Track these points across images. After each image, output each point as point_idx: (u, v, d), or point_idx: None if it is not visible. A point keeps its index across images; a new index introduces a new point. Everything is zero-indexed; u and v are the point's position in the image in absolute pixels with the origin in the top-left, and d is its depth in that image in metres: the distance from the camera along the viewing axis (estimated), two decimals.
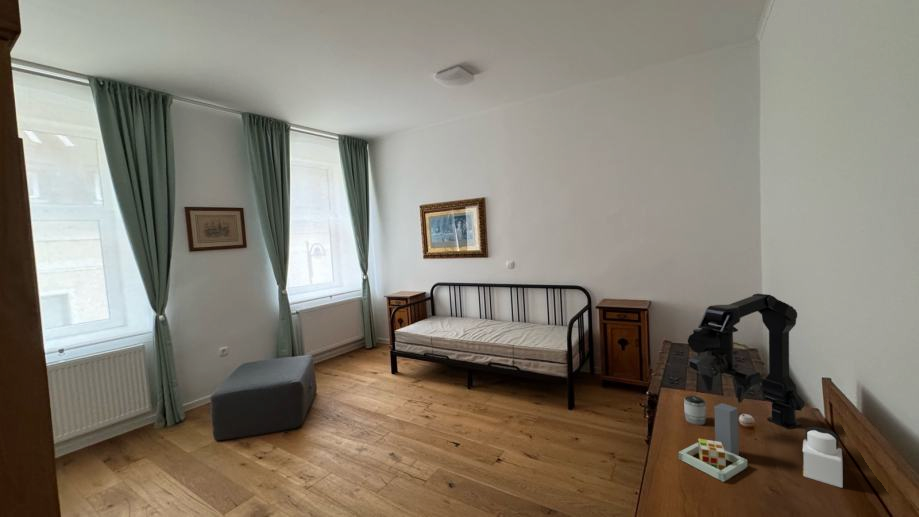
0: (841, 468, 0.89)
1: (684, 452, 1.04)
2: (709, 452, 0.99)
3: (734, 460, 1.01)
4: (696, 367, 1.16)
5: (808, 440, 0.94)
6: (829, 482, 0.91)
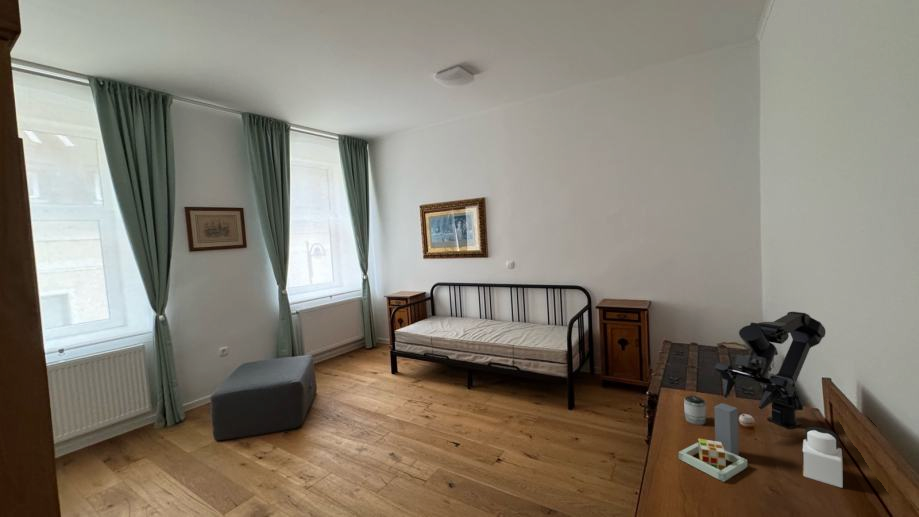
0: (841, 468, 0.89)
1: (684, 452, 1.04)
2: (709, 452, 0.99)
3: (734, 460, 1.01)
4: (724, 368, 1.15)
5: (808, 440, 0.94)
6: (829, 482, 0.91)
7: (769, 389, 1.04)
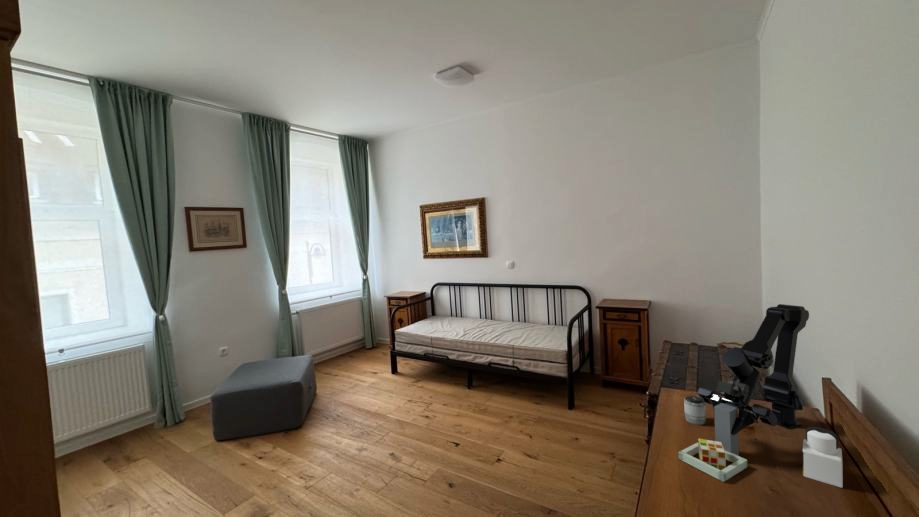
0: (841, 468, 0.89)
1: (684, 452, 1.04)
2: (709, 452, 0.99)
3: (734, 460, 1.01)
4: (706, 394, 1.11)
5: (808, 440, 0.94)
6: (829, 482, 0.91)
7: (741, 415, 1.02)
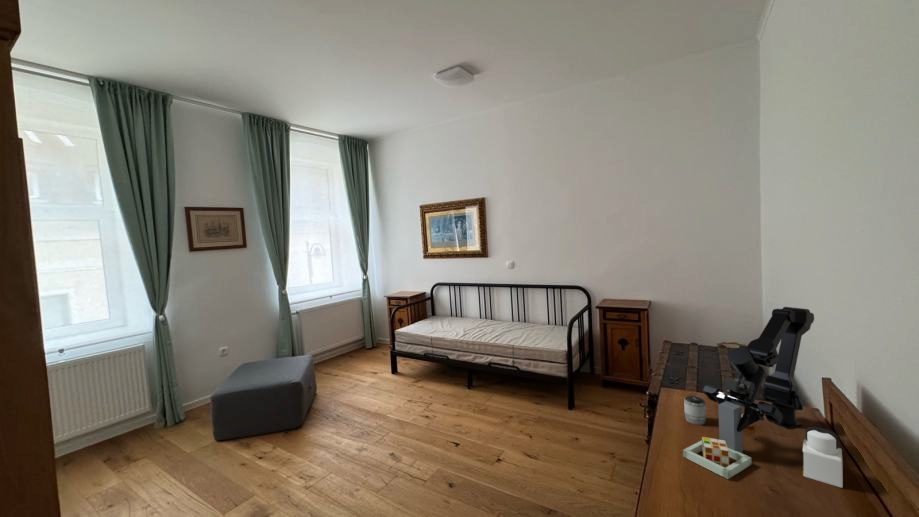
0: (841, 468, 0.89)
1: (688, 450, 1.05)
2: (712, 450, 1.00)
3: (738, 458, 1.01)
4: (712, 391, 1.12)
5: (808, 440, 0.94)
6: (829, 482, 0.91)
7: (747, 412, 1.03)
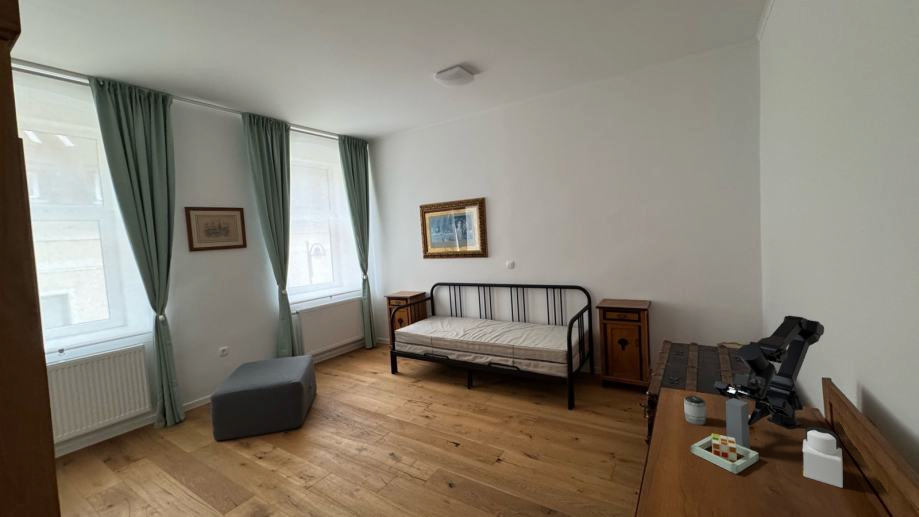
0: (841, 468, 0.89)
1: (696, 446, 1.06)
2: (720, 446, 1.01)
3: (745, 453, 1.03)
4: (722, 387, 1.15)
5: (808, 440, 0.94)
6: (829, 482, 0.91)
7: (758, 406, 1.06)
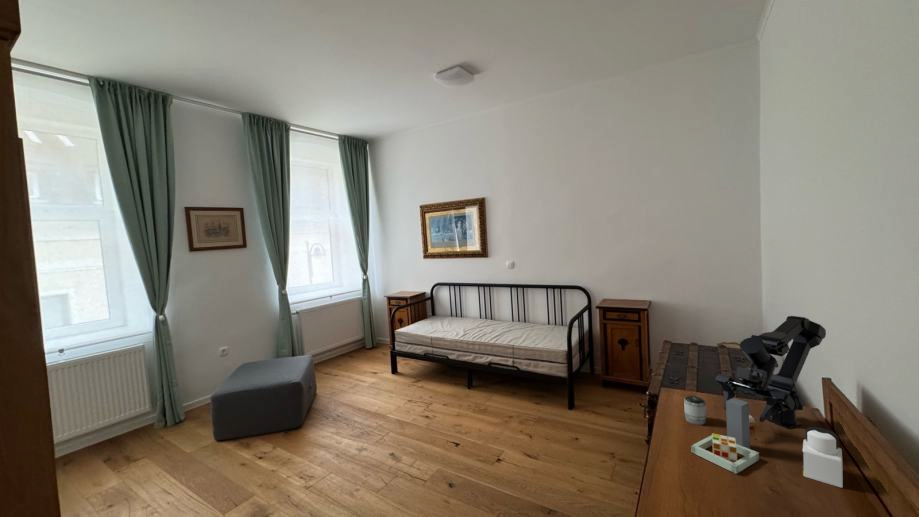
0: (841, 468, 0.89)
1: (697, 445, 1.06)
2: (720, 446, 1.01)
3: (746, 453, 1.03)
4: (724, 380, 1.15)
5: (808, 440, 0.94)
6: (829, 482, 0.91)
7: (770, 402, 1.04)
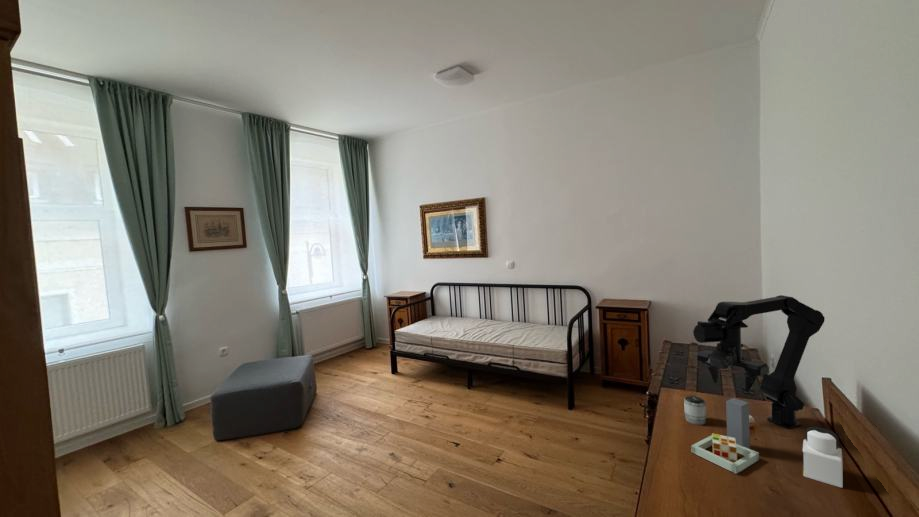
0: (841, 468, 0.89)
1: (697, 445, 1.06)
2: (720, 446, 1.01)
3: (746, 453, 1.03)
4: (704, 360, 1.23)
5: (808, 440, 0.94)
6: (829, 482, 0.91)
7: (748, 377, 1.13)
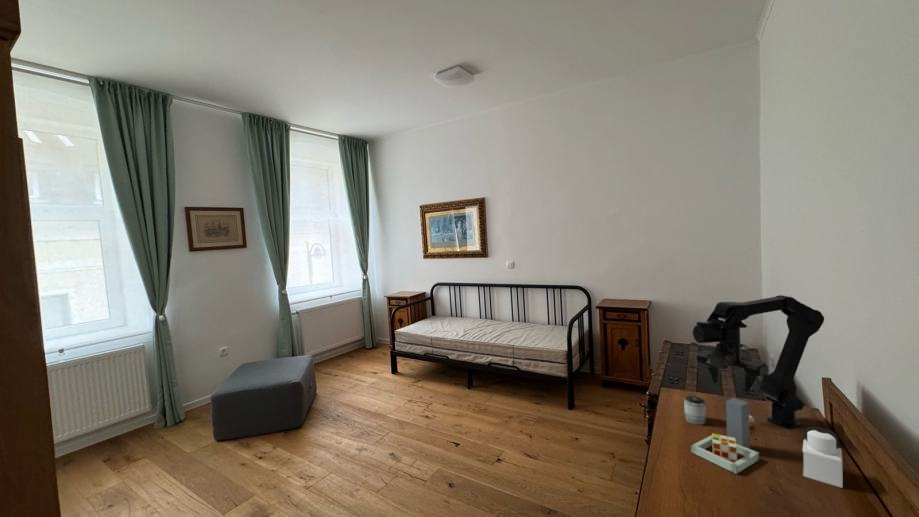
0: (841, 468, 0.89)
1: (697, 445, 1.06)
2: (720, 446, 1.01)
3: (746, 453, 1.03)
4: (704, 361, 1.23)
5: (808, 440, 0.94)
6: (829, 482, 0.91)
7: (747, 377, 1.13)
